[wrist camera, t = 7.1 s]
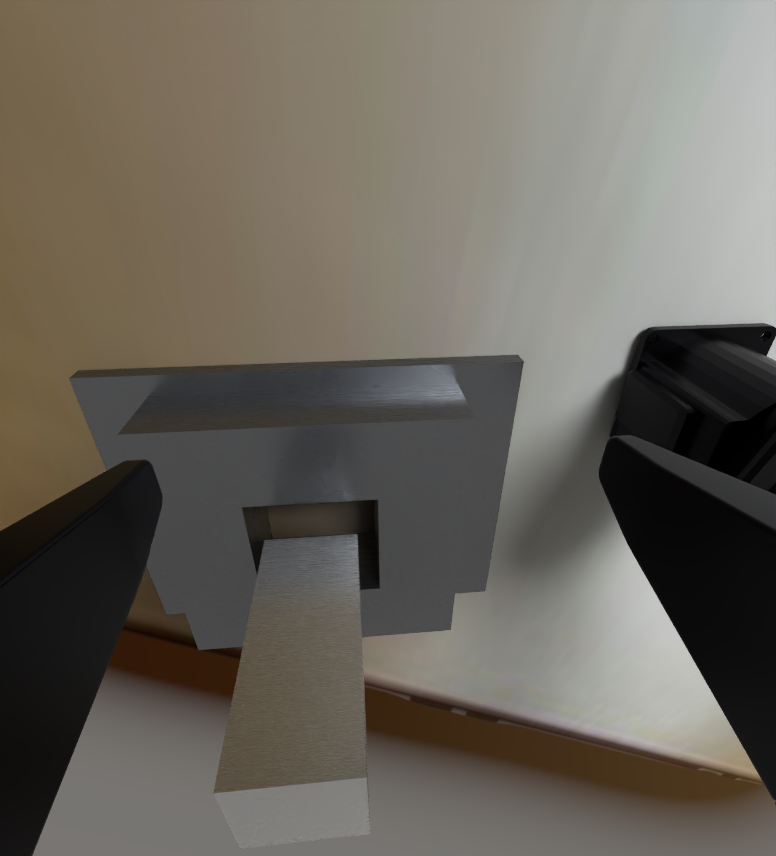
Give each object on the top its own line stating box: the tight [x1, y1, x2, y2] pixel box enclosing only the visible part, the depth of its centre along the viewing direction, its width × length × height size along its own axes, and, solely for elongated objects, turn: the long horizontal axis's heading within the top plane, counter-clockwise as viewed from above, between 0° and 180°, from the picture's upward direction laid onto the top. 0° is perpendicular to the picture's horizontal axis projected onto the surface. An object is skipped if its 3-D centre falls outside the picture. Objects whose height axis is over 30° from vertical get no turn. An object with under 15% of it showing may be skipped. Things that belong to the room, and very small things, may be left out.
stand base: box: [69, 355, 524, 650], centre depth 22 cm, size 20×16×6 cm
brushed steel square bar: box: [213, 534, 370, 848], centre depth 17 cm, size 4×4×9 cm
